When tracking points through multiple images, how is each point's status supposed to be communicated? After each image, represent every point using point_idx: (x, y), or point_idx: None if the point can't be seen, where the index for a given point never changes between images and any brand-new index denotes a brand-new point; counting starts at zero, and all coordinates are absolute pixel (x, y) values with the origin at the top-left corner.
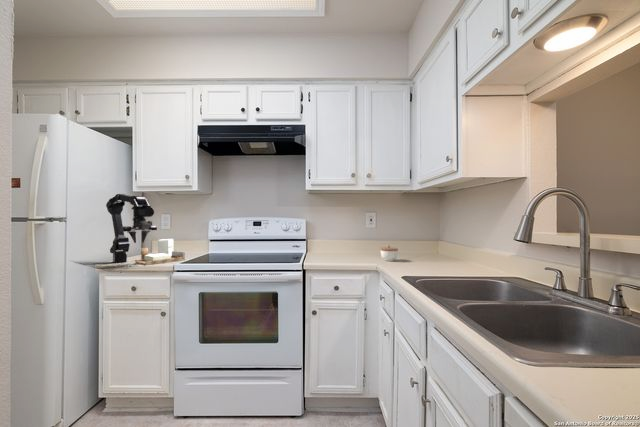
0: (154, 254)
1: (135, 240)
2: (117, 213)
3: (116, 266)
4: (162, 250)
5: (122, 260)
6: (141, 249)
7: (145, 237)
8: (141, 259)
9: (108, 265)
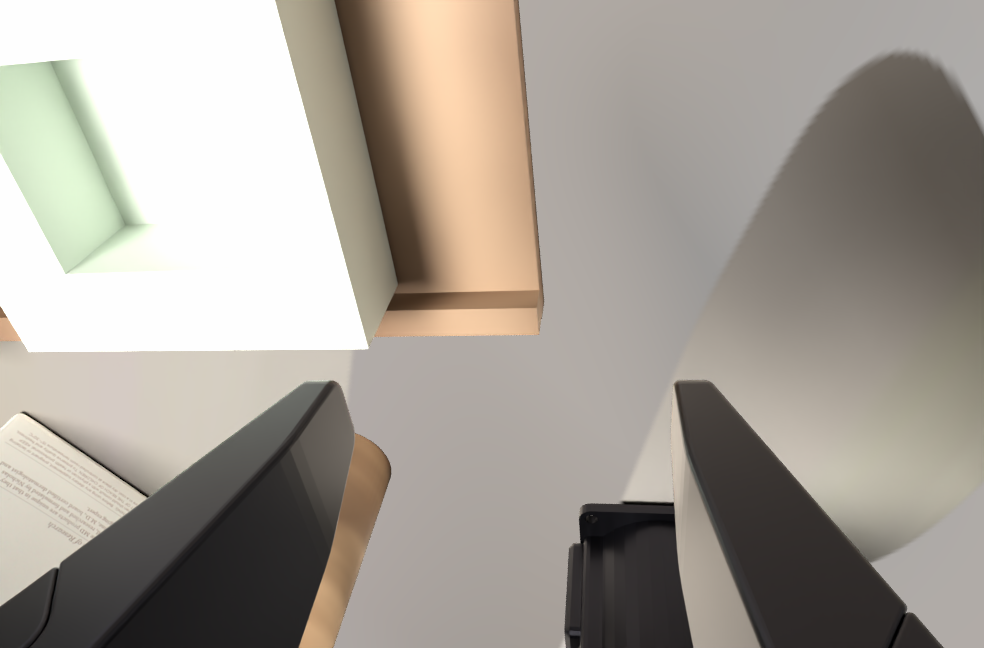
0: (173, 309)
1: (725, 461)
2: None
3: (955, 195)
4: (23, 562)
5: (644, 534)
6: (335, 629)
7: (86, 544)
8: (440, 315)
9: (932, 411)
